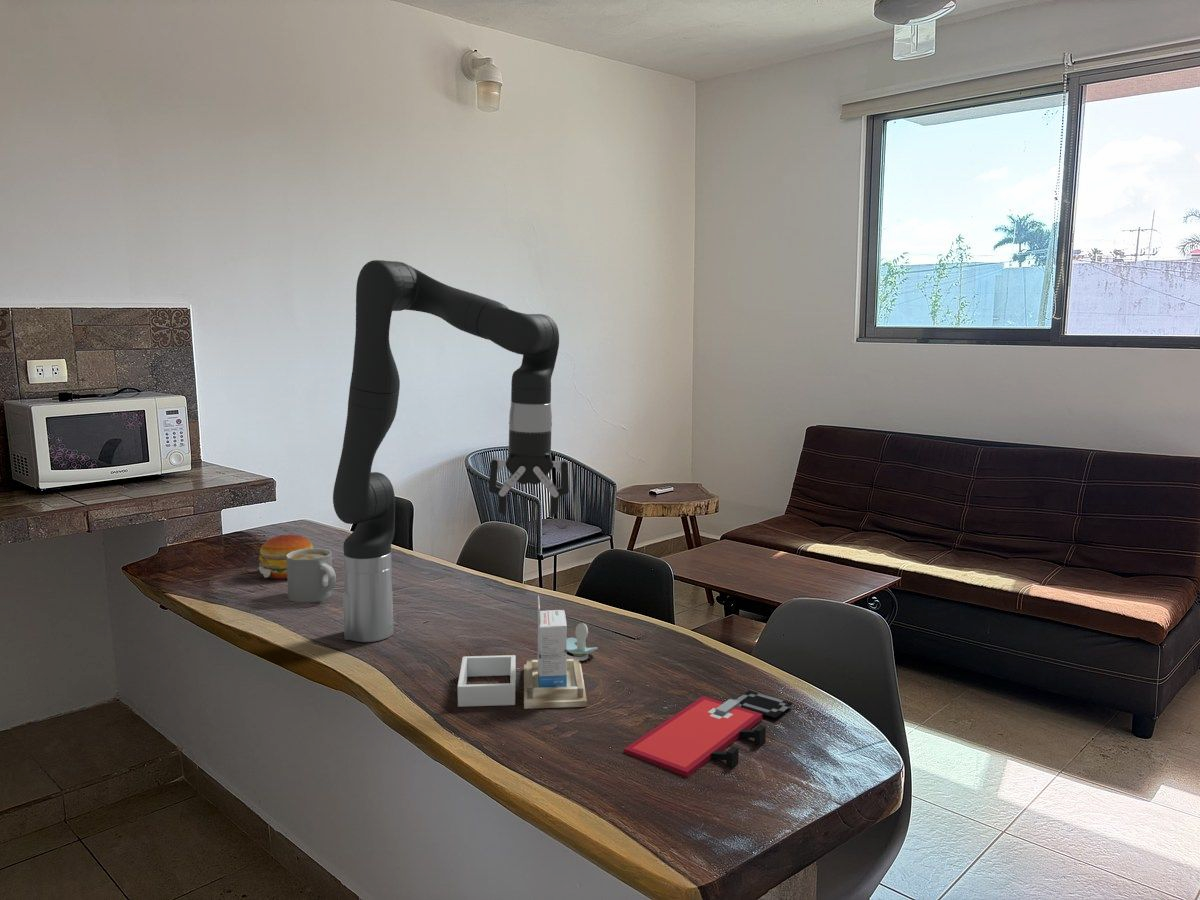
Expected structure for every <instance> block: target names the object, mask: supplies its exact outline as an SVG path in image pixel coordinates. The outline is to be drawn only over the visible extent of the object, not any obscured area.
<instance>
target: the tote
mask: <svg viewBox="0 0 1200 900" xmlns="http://www.w3.org/2000/svg"><path fill="white" fill-rule="evenodd" d="M516 658H517V657H516V655H515V654H510V655H509V654H507V655H506V654H505V655H473V656H471V655H470V656H469V655H468V656H462V658H461V659H462V660H461V666H460V671H459V676H458V682H457V708H459V707H487V706H489V707H490V706H514V705H516V683H517V682H516V680H517V678H516V676H517V675H516V673H517V671H516V669H517V666H516V662H517V661H516V660H517V659H516ZM492 676H494V677H495V676H496V677H497V676H498V677H500V676H501V677H502V676H510V677H509V678H510V679H509V680H510V681H509V682H510V683H509V682H506V683H504V682H503V683H479V684H478V683H476V684H475V683H474V684H473V683H472V684H470V683H469V684H467V681H468V677H492Z"/></svg>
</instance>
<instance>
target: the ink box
mask: <svg viewBox="0 0 1200 900" xmlns="http://www.w3.org/2000/svg"><path fill="white" fill-rule="evenodd" d="M566 617H567V616H566V612H565V610H564V609H554V610H553V609H552V610H551V609H549V610H548V609H547V610H541V606H540V596H539V595H537V660H538V681H539V688H541V687H567V653H568V652H567V639H568V637H567V631H568V629H567V628H568V627H567V625H568V624H567V619H566Z"/></svg>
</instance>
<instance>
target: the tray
mask: <svg viewBox="0 0 1200 900" xmlns="http://www.w3.org/2000/svg"><path fill="white" fill-rule="evenodd" d="M578 707H579V708H581V707H586V708H587V707H588V698H587V693H586V687H585V681H584V675H583V670H582V664H581V662H580V661H579V659H567V687H541V688H539V681H538V659H527V660H526V664H523V709H525V710H527V709H549V708H550V709H551V708H553V709H554V708H578Z"/></svg>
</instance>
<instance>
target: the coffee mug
mask: <svg viewBox="0 0 1200 900" xmlns="http://www.w3.org/2000/svg"><path fill="white" fill-rule="evenodd" d="M286 563H287V578H286V579H287V581H286V582H287V598H288V600H290V601H292V602H294V603H315V602H316V603H317V602H321V601H325V600H328V599H329V598H330V599H331V598H332V597H333V595H334V589H335V587H336V583H337V577H336V576H337V575H336V572H335V569H334V567H333V555H332V551H331V550H330V549H326V548H318V547H317V548H315V547H313V548H310V549H301V550H296V551H293V552H290V553H288V554H287V555H286Z"/></svg>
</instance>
